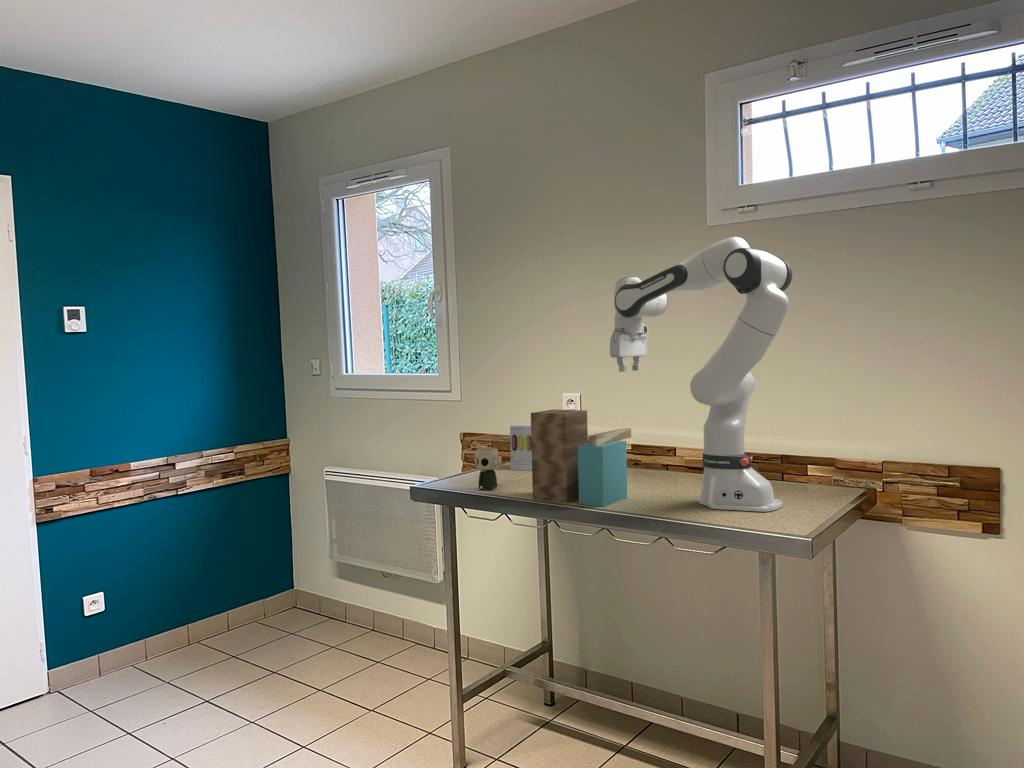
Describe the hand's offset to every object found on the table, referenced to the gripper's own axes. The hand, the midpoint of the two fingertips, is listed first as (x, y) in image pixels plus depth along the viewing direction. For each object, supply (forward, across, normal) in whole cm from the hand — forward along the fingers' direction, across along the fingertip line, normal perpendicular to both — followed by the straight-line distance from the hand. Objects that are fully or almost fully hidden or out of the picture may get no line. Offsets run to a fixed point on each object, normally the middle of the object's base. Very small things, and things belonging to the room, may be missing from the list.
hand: (629, 371), depth 250 cm
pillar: (+37, -27, +10) cm, 47 cm away
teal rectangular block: (+37, -26, -4) cm, 46 cm away
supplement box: (+37, +14, +51) cm, 65 cm away
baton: (+20, -21, -4) cm, 30 cm away
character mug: (+37, -27, +38) cm, 60 cm away
